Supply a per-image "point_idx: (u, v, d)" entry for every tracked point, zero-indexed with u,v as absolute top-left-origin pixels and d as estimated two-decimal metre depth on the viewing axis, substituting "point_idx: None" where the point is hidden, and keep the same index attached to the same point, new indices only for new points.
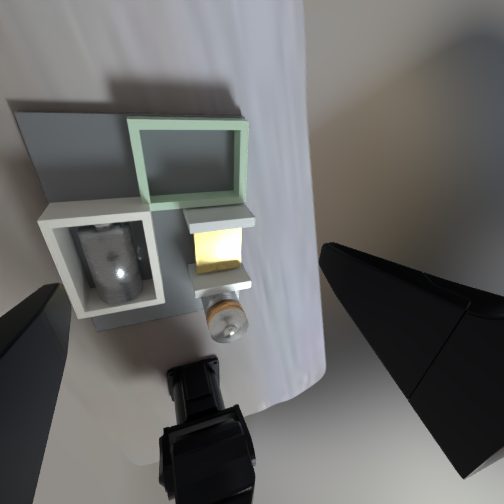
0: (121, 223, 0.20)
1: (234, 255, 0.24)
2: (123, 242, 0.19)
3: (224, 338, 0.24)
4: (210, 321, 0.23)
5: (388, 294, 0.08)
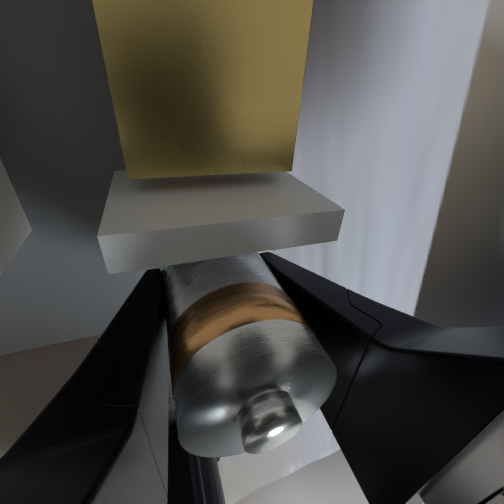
0: None
1: (276, 114, 0.06)
2: None
3: (239, 441, 0.06)
4: (178, 380, 0.05)
5: (308, 313, 0.07)
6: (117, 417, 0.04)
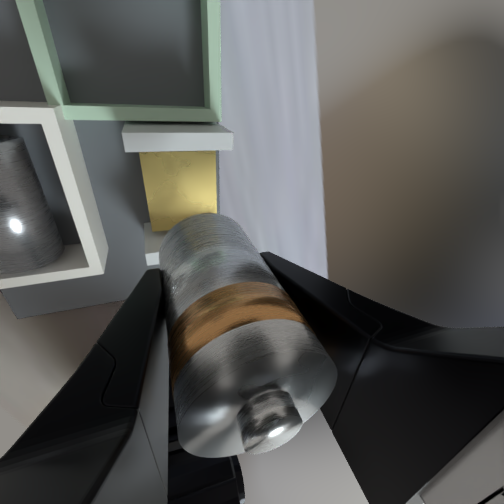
0: (9, 140, 0.12)
1: (207, 206, 0.16)
2: None
3: (239, 441, 0.06)
4: (177, 380, 0.05)
5: (308, 313, 0.07)
6: (117, 417, 0.04)
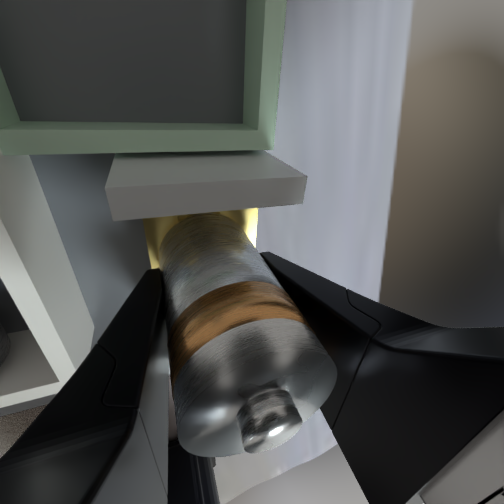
0: None
1: None
2: None
3: (239, 441, 0.06)
4: (177, 379, 0.05)
5: (308, 313, 0.07)
6: (117, 417, 0.04)
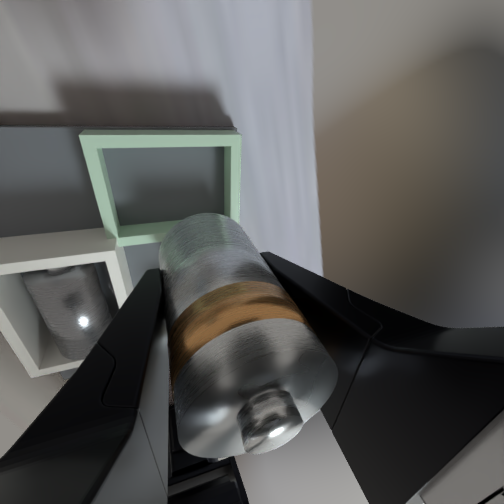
0: None
1: None
2: (83, 287, 0.15)
3: (240, 441, 0.06)
4: (177, 380, 0.05)
5: (308, 313, 0.07)
6: (117, 417, 0.04)
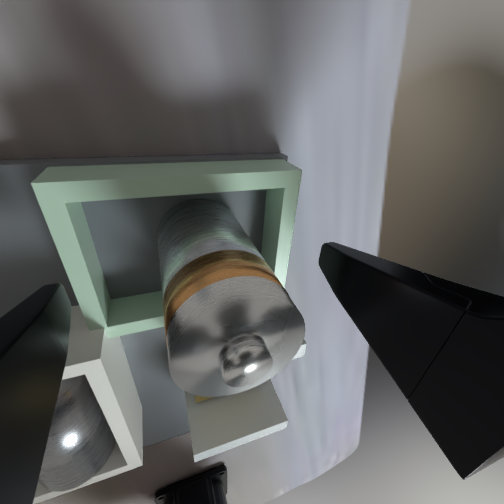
0: None
1: None
2: (79, 393, 0.10)
3: (222, 382, 0.07)
4: (169, 325, 0.06)
5: (388, 294, 0.08)
6: None
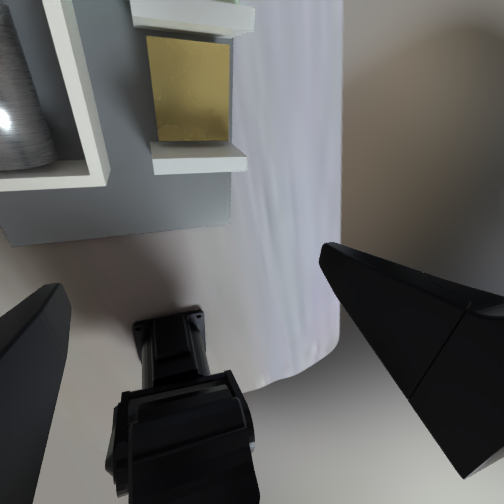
0: None
1: (218, 116, 0.15)
2: None
3: None
4: None
5: (388, 294, 0.08)
6: None
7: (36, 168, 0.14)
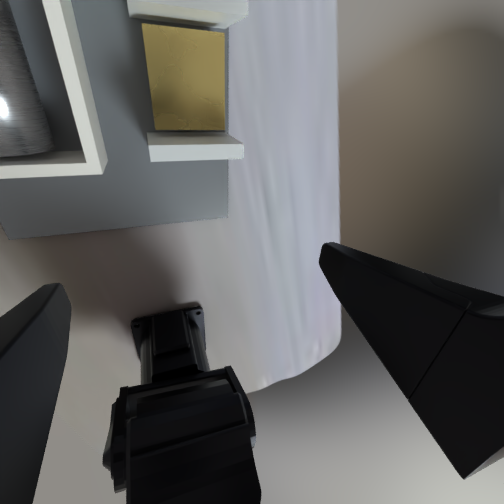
0: None
1: (215, 105, 0.15)
2: None
3: None
4: None
5: (388, 294, 0.08)
6: None
7: (33, 157, 0.14)
